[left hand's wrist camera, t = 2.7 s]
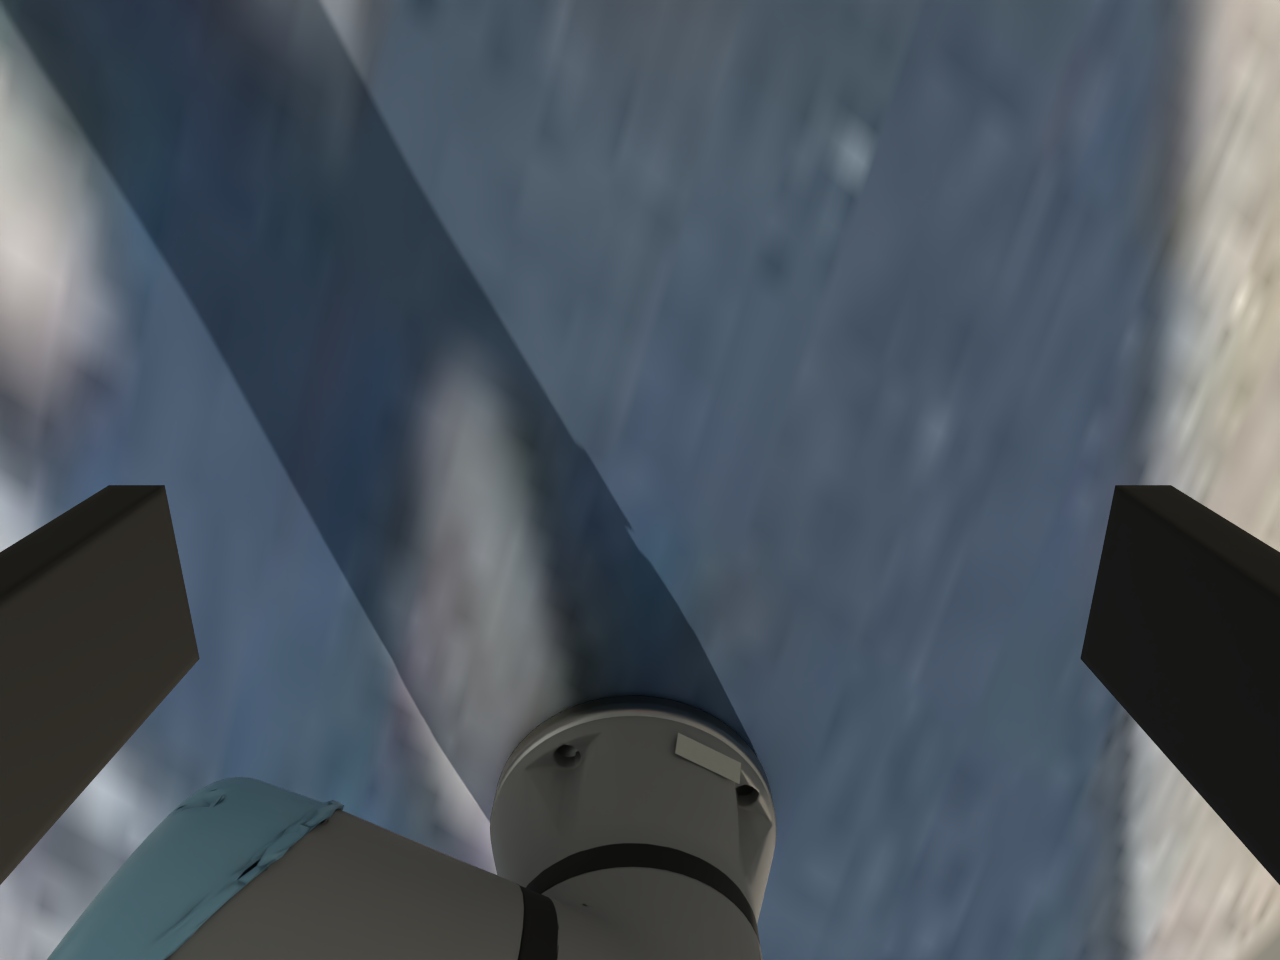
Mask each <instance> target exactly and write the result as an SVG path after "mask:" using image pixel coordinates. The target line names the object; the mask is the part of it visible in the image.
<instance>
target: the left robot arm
mask: <svg viewBox="0 0 1280 960" xmlns="http://www.w3.org/2000/svg"><path fill="white" fill-rule="evenodd" d="M198 660H199V654H198V649H197V644H196V639H195V634H194V629H193V624H192V619H191V615H190V610H189V605H188V600H187V595H186V590H185V585H184V580H183V575H182V570H181V565H180V560H179V555H178V550H177V545H176V540H175V535H174V530H173V525H172V520H171V515H170V510H169V505H168V500H167V495H166V490H165V485H109V486H107V487H106V488H104V489H102V490H101V491H99V492H98V493H96V494H94V495H93V496H91V497H89V498H88V499H86V500H85V501H83V502H81V503H80V504H78V505H76V506H75V507H73V508H72V509H70V510H68V511H67V512H65V513H63V514H62V515H60V516H59V517H57V518H55V519H54V520H52V521H50V522H49V523H47V524H46V525H44V526H42V527H41V528H39V529H37V530H36V531H34V532H33V533H31V534H29V535H28V536H26V537H25V538H23V539H21V540H20V541H18V542H16V543H15V544H13V545H12V546H10V547H8V548H7V549H5V550H3V551H2V552H0V885H1V884H2V882H3V881H4V880H5V879H6V878H7V877H8V876H9V874H10V873H11V872H12V871H13V870H14V869H15V868H16V866H17V865H18V864H19V863H20V862H21V861H22V860H23V859H24V857H25V856H26V855H27V854H28V853H29V852H30V851H31V849H32V848H33V847H34V846H35V845H36V844H37V843H38V841H39V840H40V839H41V838H42V837H43V836H44V835H45V834H46V832H47V831H48V830H49V829H50V828H51V827H52V826H53V824H54V823H55V822H56V821H57V820H58V819H59V818H60V816H61V815H62V814H63V813H64V812H65V811H66V810H67V809H68V807H69V806H70V805H71V804H72V803H73V802H74V801H75V799H76V798H77V797H78V796H79V795H80V794H81V793H82V791H83V790H84V789H85V788H86V787H87V786H88V785H89V784H90V782H91V781H92V780H93V779H94V778H95V777H96V776H97V774H98V773H99V772H100V771H101V770H102V769H103V768H104V766H105V765H106V764H107V763H108V762H109V761H110V760H111V759H112V757H113V756H114V755H115V754H116V753H117V752H118V751H119V749H120V748H121V747H122V746H123V745H124V744H125V743H126V742H127V740H128V739H129V738H130V737H131V736H132V735H133V734H134V732H135V731H136V730H137V729H138V728H139V727H140V726H141V724H142V723H143V722H144V721H145V720H146V719H147V718H148V717H149V715H150V714H151V713H152V712H153V711H154V710H155V709H156V707H157V706H158V705H159V704H160V703H161V702H162V701H163V699H164V698H165V697H166V696H167V695H168V694H169V693H170V692H171V690H172V689H173V688H174V687H175V686H176V685H177V684H178V682H179V681H180V680H181V679H182V678H183V677H184V676H185V674H186V673H187V672H188V671H189V670H190V669H191V668H192V667H193V665H194V664H195V663H196V662H197V661H198ZM1081 660H1082V661H1083V662H1084V663H1085V664H1086V665H1087V667H1088V668H1089V669H1090V670H1091V671H1092V672H1093V673H1094V674H1095V676H1096V677H1097V678H1098V679H1099V680H1100V681H1101V682H1102V684H1103V685H1104V686H1105V687H1106V688H1107V689H1108V690H1109V692H1110V693H1111V694H1112V695H1113V696H1114V697H1115V698H1116V699H1117V701H1118V702H1119V703H1120V704H1121V705H1122V706H1123V707H1124V709H1125V710H1126V711H1127V712H1128V713H1129V714H1130V715H1131V717H1132V718H1133V719H1134V720H1135V721H1136V722H1137V723H1138V724H1139V726H1140V727H1141V728H1142V729H1143V730H1144V731H1145V732H1146V734H1147V735H1148V736H1149V737H1150V738H1151V739H1152V740H1153V742H1154V743H1155V744H1156V745H1157V746H1158V747H1159V748H1160V749H1161V751H1162V752H1163V753H1164V754H1165V755H1166V756H1167V757H1168V759H1169V760H1170V761H1171V762H1172V763H1173V764H1174V765H1175V766H1176V768H1177V769H1178V770H1179V771H1180V772H1181V773H1182V774H1183V776H1184V777H1185V778H1186V779H1187V780H1188V781H1189V782H1190V784H1191V785H1192V786H1193V787H1194V788H1195V789H1196V790H1197V791H1198V793H1199V794H1200V795H1201V796H1202V797H1203V798H1204V799H1205V801H1206V802H1207V803H1208V804H1209V805H1210V806H1211V807H1212V809H1213V810H1214V811H1215V812H1216V813H1217V814H1218V815H1219V816H1220V818H1221V819H1222V820H1223V821H1224V822H1225V823H1226V824H1227V826H1228V827H1229V828H1230V829H1231V830H1232V831H1233V832H1234V834H1235V835H1236V836H1237V837H1238V838H1239V839H1240V840H1241V841H1242V843H1243V844H1244V845H1245V846H1246V847H1247V848H1248V849H1249V851H1250V852H1251V853H1252V854H1253V855H1254V856H1255V857H1256V859H1257V860H1258V861H1259V862H1260V863H1261V864H1262V865H1263V866H1264V868H1265V869H1266V870H1267V871H1268V872H1269V873H1270V874H1271V876H1272V877H1273V878H1274V879H1275V880H1276V881H1277V882H1278V884H1279V885H1280V552H1278V551H1277V550H1275V549H1273V548H1272V547H1270V546H1268V545H1267V544H1265V543H1264V542H1262V541H1260V540H1259V539H1257V538H1255V537H1254V536H1252V535H1251V534H1249V533H1247V532H1246V531H1244V530H1242V529H1241V528H1239V527H1238V526H1236V525H1234V524H1233V523H1231V522H1230V521H1228V520H1226V519H1225V518H1223V517H1221V516H1220V515H1218V514H1217V513H1215V512H1213V511H1212V510H1210V509H1208V508H1207V507H1205V506H1204V505H1202V504H1200V503H1199V502H1197V501H1195V500H1194V499H1192V498H1191V497H1189V496H1187V495H1186V494H1184V493H1182V492H1181V491H1179V490H1178V489H1176V488H1174V487H1173V486H1171V485H1115V490H1114V495H1113V500H1112V505H1111V510H1110V515H1109V520H1108V525H1107V530H1106V535H1105V540H1104V545H1103V550H1102V555H1101V560H1100V565H1099V570H1098V575H1097V580H1096V585H1095V590H1094V595H1093V600H1092V605H1091V610H1090V615H1089V619H1088V624H1087V629H1086V634H1085V639H1084V644H1083V649H1082V654H1081ZM343 807H344V805H342V804H340V803H339V802H336V801H333V800H332V801H328V802H326V803H323V802H320V801H317V800H314V799H311V798H309V797H306V796H303V795H300V794H297V793H294V792H291V791H289V790H286V789H283V788H280V787H277V786H274V785H271V784H268V783H266V782H263V781H260V780H257V779H252V778H246V777H235V778H228V779H223V780H220V781H217V782H214V783H212V784H210V785H208V786H206V787H204V788H202V789H201V790H199V791H197V792H196V793H194V794H193V795H192V796H190V797H189V798H187V799H186V800H185V801H184V802H183V803H182V804H180V805H179V806H178V807H177V808H176V809H175V810H174V811H173V812H172V813H171V814H170V815H169V816H168V817H167V818H165V819H164V820H163V821H162V822H161V823H160V824H159V825H158V827H157V828H156V829H155V830H154V831H153V832H152V833H151V834H150V835H149V836H148V837H147V838H146V839H145V840H144V841H143V843H142V844H141V845H140V846H139V847H138V848H137V849H136V850H135V851H134V852H133V854H132V855H131V856H130V857H129V858H128V859H127V861H126V862H125V863H124V864H123V865H122V866H121V868H120V869H119V870H118V871H117V872H116V873H115V875H114V876H113V877H112V878H111V879H110V881H109V882H108V883H107V884H106V885H105V886H104V888H103V889H102V890H101V891H100V893H99V894H98V895H97V896H96V897H95V899H94V900H93V901H92V902H91V904H90V905H89V906H88V907H87V909H86V910H85V911H84V912H83V914H82V915H81V916H80V917H79V919H78V920H77V921H76V922H75V924H74V925H73V926H72V928H71V929H70V930H69V931H68V933H67V934H66V935H65V937H64V938H63V939H62V941H61V942H60V943H59V945H58V946H57V947H56V948H55V950H54V951H53V952H52V954H51V955H50V956H49V958H48V959H47V960H762V954H761V948H760V942H759V935H758V928H757V922H758V918H759V914H760V910H761V905H762V901H763V897H764V893H765V888H766V884H767V880H768V876H769V871H770V867H771V863H772V859H773V854H774V848H775V843H776V817H775V811H774V805H773V801H772V796H771V791H770V787H769V783H768V780H767V777H766V774H765V772H764V769H763V767H762V765H761V763H760V762H759V760H758V758H757V756H756V755H755V754H754V752H753V751H752V749H751V748H750V747H749V746H748V744H747V743H746V742H745V741H744V740H743V739H742V738H741V737H740V736H739V735H738V734H737V733H736V732H735V731H734V730H732V729H731V728H730V727H728V726H727V725H726V724H724V723H723V722H722V721H720V720H718V719H717V718H715V717H713V716H712V715H710V714H708V713H706V712H704V711H702V710H700V709H697V708H695V707H692V706H689V705H687V704H684V703H680V702H676V701H673V700H668V699H663V698H657V697H647V696H619V697H610V698H603V699H598V700H594V701H590V702H586V703H583V704H580V705H577V706H574V707H572V708H569V709H567V710H565V711H563V712H560V713H559V714H557V715H555V716H553V717H551V718H550V719H548V720H547V721H545V722H544V723H542V724H541V725H539V726H538V727H537V728H536V729H534V730H533V731H532V732H531V733H530V734H528V735H527V737H526V738H525V739H524V740H523V741H522V742H521V743H520V744H519V745H518V746H517V748H516V749H515V750H514V752H513V753H512V754H511V756H510V758H509V759H508V761H507V763H506V765H505V767H504V769H503V771H502V773H501V776H500V779H499V783H498V786H497V790H496V795H495V799H494V804H493V808H492V814H491V822H490V835H491V844H492V851H493V856H494V861H495V866H496V870H497V875H495V874H493V873H490V872H487V871H485V870H482V869H480V868H477V867H475V866H472V865H470V864H467V863H465V862H462V861H460V860H458V859H455V858H453V857H450V856H448V855H446V854H443V853H441V852H439V851H436V850H434V849H432V848H429V847H427V846H425V845H422V844H420V843H417V842H415V841H413V840H410V839H408V838H406V837H403V836H401V835H399V834H396V833H394V832H391V831H389V830H387V829H384V828H382V827H380V826H377V825H375V824H373V823H370V822H368V821H365V820H363V819H361V818H358V817H356V816H354V815H351V814H349V813H347V812H344V811H342V810H343Z"/></svg>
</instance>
